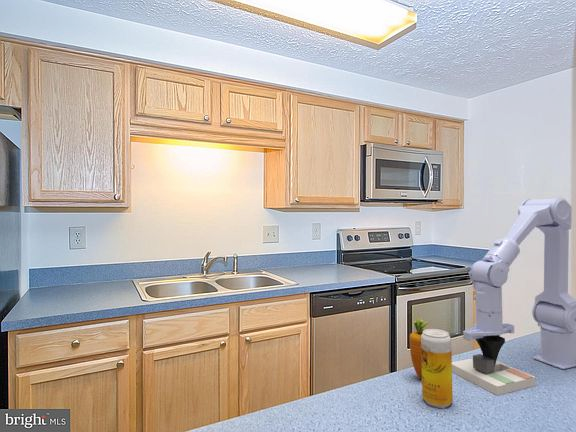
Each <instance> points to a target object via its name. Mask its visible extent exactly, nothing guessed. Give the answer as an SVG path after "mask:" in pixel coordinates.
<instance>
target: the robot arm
mask: <svg viewBox="0 0 576 432" xmlns="http://www.w3.org/2000/svg"><path fill="white" fill-rule="evenodd" d="M572 207H573V206H572V205H571V204H570V203H569V202H568V200H567V199H566V198H563V197H557V198H540V199H537V198H536V199H531V198H528V199H525V200H523V201H522V202H521V204H520V206H518V208H517V214H518V216H517V218H516V220H515V222H514V223H513V225H512V226H511V228H510V229H509V231H508V233H507V234H506V236H505V237H503V238H501V237H500V238H498V239H496V240H494V242H493V244H492V246H491V247H490V248H489V250H488V251H487V252H486V254H485V255H484V257H483V258H482V259H481V260H478V261H475V262H474V263H473V264H472V265H471V267H470V271H469V272H468V276H469V278H470V280H471V282H472V288H473V290H474V291H475V292H474V293H475V323H474V324H473V327H471V328H469V329H466V330H463V331H462V332H463V338H462V339H463V340H466V341H469V342H473V341H474V340H475V341H476V342H477V345H478V346H479V348H480V350H481V353H482V355H484V356H486V357H488V358H491V359H493V360H494V367H495V364H496V361H498V356H499V353H500V351H501V349H502V348H503V345H504V344H506V339H505V337H502V336H501V335H505V334H515V325H513V324H510V323H503V296H502V295H503V293H502V290H503V289H502V287H503V285H504V284H505V283H507V281H508V278H509V277H508V276H509V272H510V269H511V268H510V267H511V265H512V264H513V262H514V261H515V260H516V258H518V255H519V254H520V253H521V250H520V247H519V246H520V244H521V243H522V242H523V241H524V240H525V239H527V237H528V236H529V235H530V233H531V232H532V231H533V230H534V229H539V230H540V232H542V233H543V234H544V235H543V236H544V243H543V245H544V246H543V247H544V251H543V254H544V255H543V259H544V260H543V264H544V265H543V291H541V293H539V294H537V295H535V297H534V304H533V306H532V310H531V314H532V317H533V320H534V321H535V322H536V323H537V327H539V328H540V355H535V356H533V357H532V358H533V360H537V361H539V362H543V364H548V365H550V366H553V367H555V368H557V369H562V370H566V369H570V368H575V367H576V298H575V297H573V296H572V295H571V294H570V293H569V255H570V253H569V245H570V244H569V241H570V240H569V239H570V238H569V237H570V230H572V222H573V221H572V218H573V217H572V216H573V215H572V211H573V210H572V209H573V208H572Z"/></svg>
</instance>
